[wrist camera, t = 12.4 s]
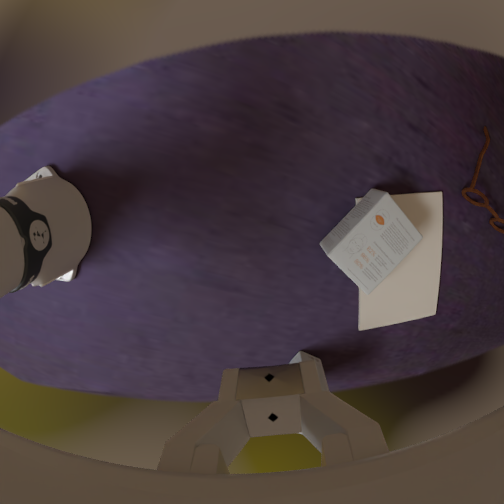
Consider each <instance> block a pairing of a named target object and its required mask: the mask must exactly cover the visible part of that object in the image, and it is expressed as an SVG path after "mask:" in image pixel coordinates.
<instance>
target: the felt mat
mask: <svg viewBox="0 0 504 504" xmlns="http://www.w3.org/2000/svg"><path fill="white" fill-rule="evenodd" d="M390 196H391V197H392V199H393V200H394V201H395V202H396V204H397V205H398V206H399V207H400V209H401V210H402V211H403V212H404V214H405V215H406V216H407V217H408V219H409V220H410V221H411V223H412V224H413V225H414V227H415V228H416V229H417V230H418V231H419V232H420V233H421V235H422V236H423V238H422V240H421V241H420V242H419V243H418V244H417V245H416V246H415V247H414V248H413V250H412V251H411V252H410V253H409V254H408V255H407V256H406V257H405V258H404V259H403V260H402V261H401V262H400V263H399V264H398V265H397V266H396V268H394V270H393V271H392V272H391V273H390V274H389V275H388V276H387V277H386V278H385V279H384V280H383V281H382V282H381V283H380V284H379V285H378V286H377V287H376V288H375V289H374V290H373V291H372V292H371V293H370V294H369V295H366V294H365V293H364V292H363V291H362V290H361V289H360V288H359V325H358V329H359V331H361V330H366V329H371V328H376V327H382V326H387V325H391V324H396V323H401V322H405V321H410V320H414V319H419V318H423V317H427V316H431V315H435V314H436V308H437V300H438V291H439V281H440V269H441V254H442V224H443V208H442V192H440V191H439V192H424V193H410V194H397V195H390ZM361 199H362V198H355V201H356V204H357V203H358V202H359V201H360V200H361Z"/></svg>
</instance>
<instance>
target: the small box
mask: <svg viewBox="0 0 504 504" xmlns="http://www.w3.org/2000/svg"><path fill="white" fill-rule="evenodd" d="M422 238H423V236H422V235H421V233H420V232H419V231H418V230H417V229H416V228H415V227H414V225H413V224H412V223H411V221H410V220H409V219H408V217H407V216H406V215H405V214H404V212H403V211H402V210H401V209H400V207H399V206H398V205H397V204H396V202H395V201H394V200H393V199H392V197H391V196H390V194H389V193H388V192H385V191H381V190H377V189H373V188H372V189H370V191H369V192H368V193H367V194H366V195H365V196H364V197H363V198H362V199H361V200H360V201H359V202H358V203H357V204H356V206H355V207H354V208H353V209H352V210H351V211H350V212H349V213H348V214H347V215H346V216H345V217H344V218H343V219H342V220H341V221H340V222H339V223H338V224H337V225H336V226H335V227H334V228H333V230H332V231H331V232H330V233H329V234H328V235H327V236H326V237H325V238H324V239H323V240H322V241H321V242H320V246H321V247H322V248H323V250H324V252H325V253H326V255H327V256H328V257H329V258H330V259H331V260H332V261H333V262H334V263H335V264H336V265H337V266H338V267H339V268H340V269H341V270H342V271H343V272H344V273H345V274H346V275H347V276H348V277H349V278H350V279H351V280H352V281H353V282H354V283H355V284H356V285H357V286H358V287H359V288H360V289H361V290H362V291H363V292H364V293H365V294H366V295H369V294H370V293H371V292H372V291H373V290H374V289H375V288H376V287H377V286H378V285H379V284H380V283H381V282H382V281H383V280H384V279H385V278H386V277H387V276H388V275H389V274H390V273H391V272H392V271H393V270H394V268H396V266H397V265H398V264H399V263H400V262H401V261H402V260H403V259H404V258H405V257H406V256H407V255H408V254H409V253H410V252H411V251H412V250H413V248H414V247H415V246H416V245H417V244H418V243H419V242H420V241H421V240H422Z"/></svg>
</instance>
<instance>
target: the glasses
mask: <svg viewBox="0 0 504 504" xmlns="http://www.w3.org/2000/svg"><path fill="white" fill-rule="evenodd" d="M483 130H484V133H485V136H486V143H485V145H484V148H483V149H482V151H481V153H480V155H479V158H478V162H477V166H476V169H475V173H474V176H473V179H472V183H471V186H470V188H464V189H462V192H461V193H462V195H463V197H464V198H465V199H466V200H467V201H469V202H470V203H472V204H473V205H476V206H481V207H486V208H487V209H488V210H489V211H490V212H491V213H492V214H493V215H494V216H495V218H491V219H490V221H489V223H490V224H491V225H492V227H493V228H494V229H495V230H497V231H499V232H501V233H504V230H502V229H499V228H498V227H496V226H495V225H494V223H493V222H494V221H498V222H501V223H503V224H504V220H503V219H501V218H499V216H498V215H497V213H496V212H495V211H494V210H493V209H492V208H491V207H490V206H488V204H489V200H488V198H487V197H486V196H485V195H484V194H483V193H482V192H480V191H478V190H476V189H474V187H475V183H476V180H477V177H478V173H479V170H480V166H481V162H482V158H483V155H484V154H485V152H486V150H487V148H488V145H489V142H490V137H489V134H488V131H487V128H486V126H484V129H483ZM465 192H474V193H476V194H478V195H480V196H481V197H482V198H483V199H484V201H485V203H478V202H475V201H473V200H471V199H470V198H469V197H468V196H467V195H466V193H465Z"/></svg>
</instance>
